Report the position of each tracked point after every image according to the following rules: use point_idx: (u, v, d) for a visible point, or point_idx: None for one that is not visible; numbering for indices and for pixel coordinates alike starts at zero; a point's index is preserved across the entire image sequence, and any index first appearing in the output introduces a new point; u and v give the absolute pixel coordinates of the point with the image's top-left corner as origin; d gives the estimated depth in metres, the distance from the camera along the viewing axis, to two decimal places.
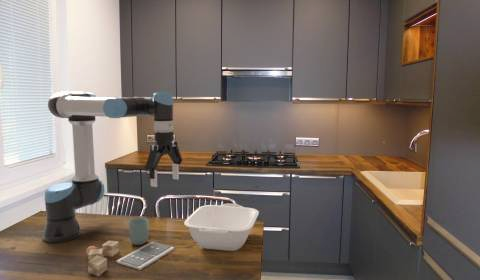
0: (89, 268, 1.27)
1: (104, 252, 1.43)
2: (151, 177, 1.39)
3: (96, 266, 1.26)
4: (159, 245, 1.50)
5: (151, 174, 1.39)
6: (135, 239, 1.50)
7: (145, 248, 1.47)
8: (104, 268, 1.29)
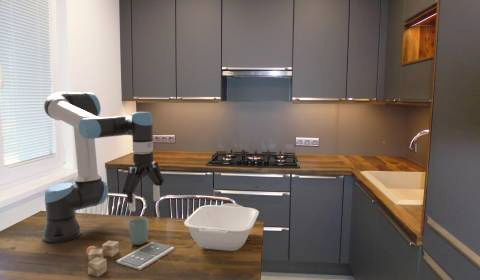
0: (89, 269, 1.28)
1: (104, 252, 1.43)
2: (129, 201, 1.32)
3: (95, 266, 1.27)
4: (159, 245, 1.50)
5: (129, 198, 1.32)
6: (135, 239, 1.50)
7: (145, 248, 1.47)
8: (104, 269, 1.30)
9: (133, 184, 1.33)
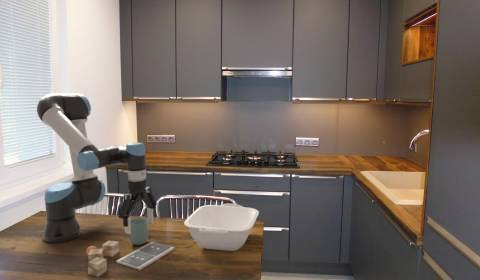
0: (89, 269, 1.28)
1: (104, 252, 1.43)
2: (125, 225, 1.46)
3: (95, 266, 1.27)
4: (159, 245, 1.50)
5: (124, 222, 1.45)
6: (135, 239, 1.50)
7: (145, 248, 1.47)
8: (104, 269, 1.30)
9: (128, 209, 1.47)
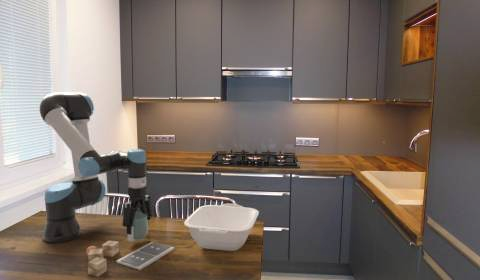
0: (89, 269, 1.28)
1: (104, 252, 1.43)
2: (128, 233, 1.49)
3: (95, 266, 1.27)
4: (159, 245, 1.50)
5: (128, 230, 1.49)
6: (134, 234, 1.51)
7: (145, 248, 1.47)
8: (104, 269, 1.30)
9: (130, 217, 1.49)
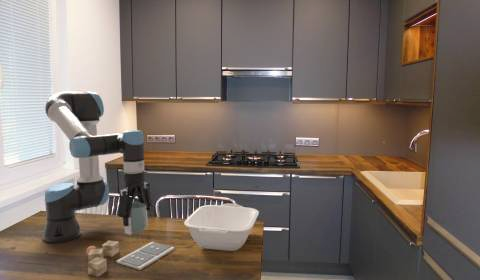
0: (89, 269, 1.28)
1: (104, 252, 1.43)
2: (125, 224, 1.31)
3: (95, 266, 1.27)
4: (159, 245, 1.50)
5: (125, 221, 1.31)
6: (131, 225, 1.33)
7: (145, 248, 1.47)
8: (104, 269, 1.30)
9: (127, 207, 1.31)
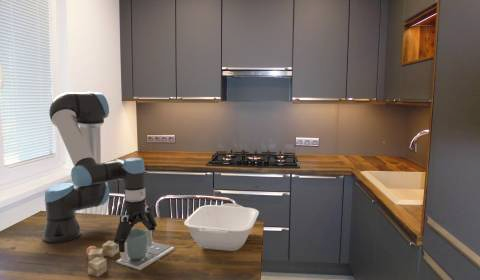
0: (89, 269, 1.28)
1: (104, 252, 1.43)
2: (121, 250, 1.30)
3: (95, 266, 1.27)
4: (159, 245, 1.50)
5: (121, 247, 1.30)
6: (132, 253, 1.34)
7: None
8: (104, 269, 1.30)
9: (125, 233, 1.31)
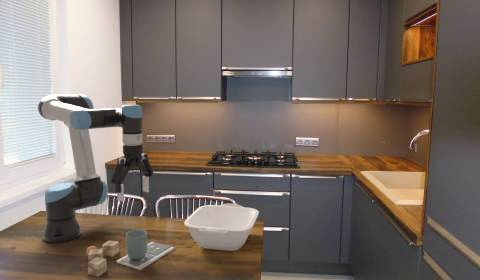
0: (89, 269, 1.28)
1: (104, 252, 1.43)
2: (117, 191, 1.36)
3: (95, 266, 1.27)
4: (159, 245, 1.50)
5: (117, 188, 1.36)
6: (132, 253, 1.34)
7: None
8: (104, 269, 1.30)
9: (122, 175, 1.37)
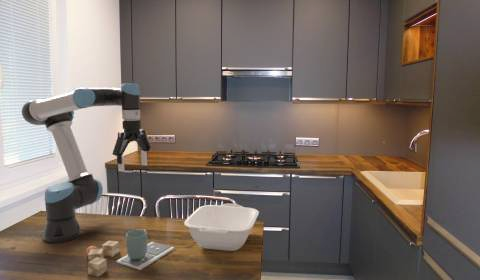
0: (89, 269, 1.28)
1: (104, 252, 1.43)
2: (118, 162, 1.49)
3: (95, 266, 1.27)
4: (159, 245, 1.50)
5: (118, 159, 1.48)
6: (132, 253, 1.34)
7: None
8: (104, 269, 1.30)
9: (122, 147, 1.50)
